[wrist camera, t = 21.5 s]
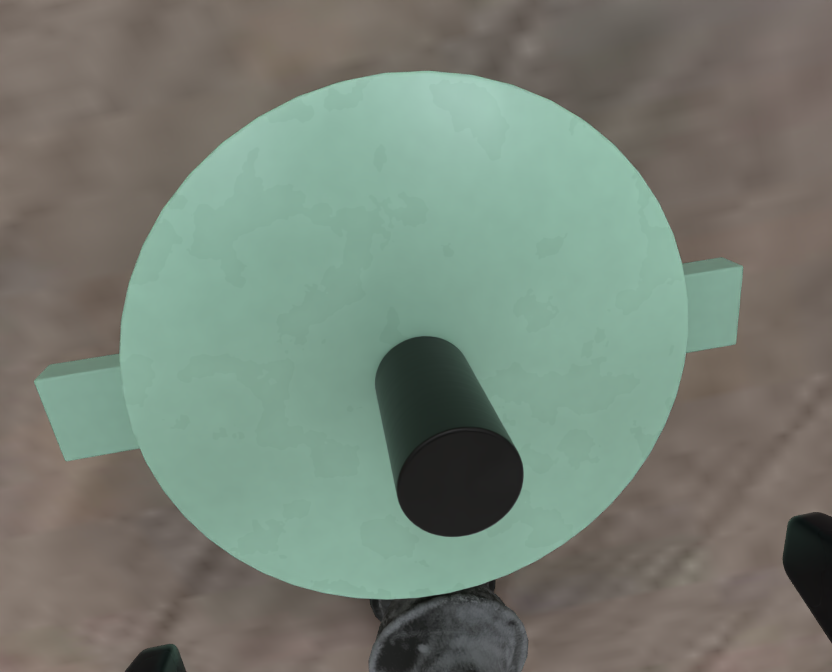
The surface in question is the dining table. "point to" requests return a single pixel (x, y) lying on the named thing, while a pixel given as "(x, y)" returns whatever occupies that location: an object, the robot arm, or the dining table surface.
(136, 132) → the dining table surface
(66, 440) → the pot
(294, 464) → the pot lid
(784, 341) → the dining table surface
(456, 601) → the dark grey tall piece
